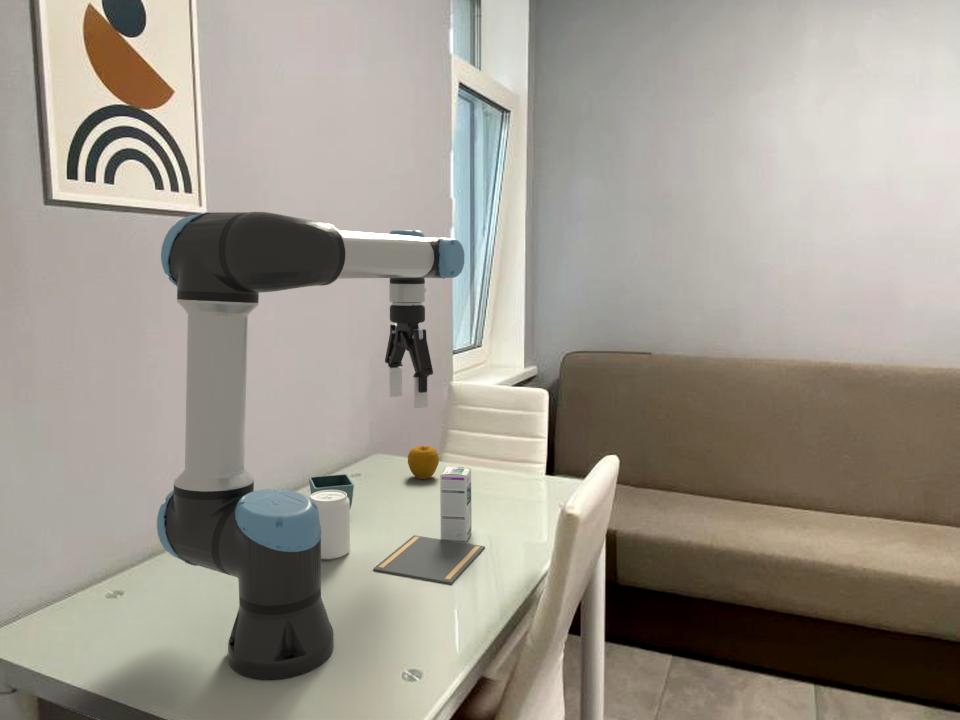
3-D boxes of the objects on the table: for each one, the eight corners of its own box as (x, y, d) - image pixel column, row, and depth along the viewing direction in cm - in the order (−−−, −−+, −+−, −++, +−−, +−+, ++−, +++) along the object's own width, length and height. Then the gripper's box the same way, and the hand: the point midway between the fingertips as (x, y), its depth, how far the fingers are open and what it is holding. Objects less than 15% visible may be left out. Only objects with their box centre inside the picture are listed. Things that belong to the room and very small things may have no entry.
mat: (451, 584, 128) (451, 581, 128) (373, 570, 134) (373, 567, 134) (484, 548, 145) (484, 545, 145) (413, 537, 150) (413, 534, 150)
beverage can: (340, 563, 137) (339, 503, 135) (301, 559, 138) (300, 500, 137) (356, 547, 145) (355, 490, 143) (319, 543, 146) (318, 487, 145)
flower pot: (355, 523, 158) (354, 484, 157) (315, 527, 155) (314, 488, 154) (347, 510, 166) (346, 473, 165) (309, 514, 163) (308, 477, 162)
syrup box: (467, 541, 148) (467, 474, 146) (439, 539, 149) (439, 473, 147) (471, 532, 154) (472, 467, 152) (445, 530, 155) (445, 465, 153)
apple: (427, 471, 199) (427, 440, 198) (445, 478, 193) (445, 446, 191) (401, 476, 194) (401, 444, 193) (419, 484, 187) (419, 451, 186)
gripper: (449, 307, 142) (449, 410, 145) (400, 300, 163) (401, 390, 166) (415, 307, 138) (415, 414, 141) (370, 300, 160) (371, 393, 163)
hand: (407, 401), depth 154 cm, fingers open, 13 cm apart
